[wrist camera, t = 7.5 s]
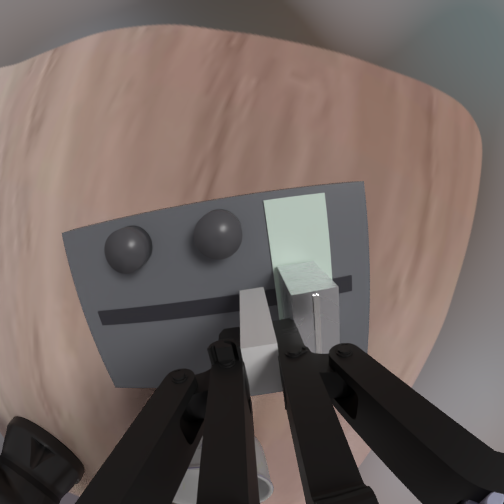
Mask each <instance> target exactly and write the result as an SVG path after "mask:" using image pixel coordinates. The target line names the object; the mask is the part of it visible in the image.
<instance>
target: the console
mask: <svg viewBox="0 0 504 504" xmlns="http://www.w3.org/2000/svg"><path fill="white" fill-rule="evenodd" d="M62 237H63V241H64V246H65V250H66V254H67V258H68V262H69V266H70V270H71V274H72V277H73V281H74V284H75V287H76V291H77V294H78V297H79V300H80V303H81V306H82V309H83V312H84V315H85V318H86V320H87V323H88V326H89V328H90V331H91V334H92V336H93V339H94V341H95V343H96V346H97V348H98V351H99V353H100V355H101V358H102V360H103V362H104V364H105V366H106V369H107V371H108V373H109V375H110V377H111V379H112V381H113V383H114V385H115V387H118V388H158V386H159V385H160V384H161V382H162V381H163V379H164V378H165V377H166V375H167V374H169V373H170V372H172V371H174V370H177V369H184V368H186V369H190V370H192V371H193V372H194V374H195V375H196V374H199V373H202V372H205V371H207V370H209V369H211V361H210V358H209V354H208V351H207V348H208V347H209V345H210V344H212V343H213V342H215V341H218V339H219V334H220V332H221V331H222V330H223V329H226V328H233V327H240V290H246V289H253V288H259V287H264V291H265V295H266V299H267V303H268V308H269V312H270V316H271V320H272V321H275V320H281V319H283V311H282V302H281V294H280V286H279V278H278V270H277V266H283V265H290V264H296V263H302V262H308V261H314V262H315V263H316V264H317V265H318V266H319V267H320V268H321V269H322V270H323V271H324V272H325V273H326V274H327V275H328V276H329V277H330V278H331V279H332V280H333V282H334V283H335V284H336V285H337V286H338V287H339V324H340V344H341V343H351V344H354V345H356V346H358V347H359V348H360V349H362V350H363V351H364V352H366V353H367V349H368V333H369V308H370V264H369V238H368V222H367V209H366V198H365V189H364V181H356V182H342V183H332V184H322V185H313V186H304V187H296V188H288V189H280V190H273V191H265V192H258V193H251V194H245V195H238V196H232V197H225V198H219V199H213V200H208V201H202V202H196V203H191V204H185V205H180V206H175V207H170V208H164V209H159V210H155V211H150V212H145V213H140V214H136V215H131V216H127V217H122V218H118V219H113V220H109V221H105V222H101V223H97V224H93V225H88V226H85V227H81V228H77V229H73V230H70V231H67V232H64V233H62Z"/></svg>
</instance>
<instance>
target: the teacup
mask: <svg viewBox="0 0 504 504" xmlns="http://www.w3.org/2000/svg"><path fill="white" fill-rule="evenodd" d="M254 438H255V451H256V463H257V476H258V487H259V499H260V503H261V502H263V501H265V500H266V499H268V498H269V497H270V496H271V494H272V493H273V484H272V482H271V481H270V476H269V471H268V466H267V462H266V458H265V454H264V451H263V448H262V446H261V444H260V442H259V441H258V440H257V438H256V437H255V436H254ZM202 440H203V436H202V438H201V440H200V443H199V445H198V447H197V449H196V452H195V454H194V456H193V458H192V460H191V463H190V465H189V467H188V469H187V471H186V474H185V476H184V478H183V480H182V482H181V484H180V487H179V489H178V491H177V493H176V495H175V497H174V499H173V501H172V502H173V503H176V504H196V501H197V490H198V479H199V469H200V459H201V449H202Z"/></svg>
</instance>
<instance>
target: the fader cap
mask: <svg viewBox="0 0 504 504" xmlns="http://www.w3.org/2000/svg"><path fill="white" fill-rule="evenodd" d="M277 270H278V278H279V286H280V294H281V302H282V311H283V319H286V318H290V319H292V320H293V321H295V323H296V326H297V328H298V331H299V333H300V335H301V338H302V340H303V343H304V345H305V346H306V347H308V348H309V349H310V351H311V352H313V353H319V354H329V350H330V349H331V348H332V347H333V346H335V345H337V344H340V324H339V287H338V286H337V285H336V284H335V283H334V282H333V280H332V279H331V278H330V277H329V276H328V275H327V274H326V273H325V272H324V271H323V270H322V269H321V268H320V267H319V266H318V265H317V264H316V263H315V262H314V261H308V262H302V263H296V264H290V265H283V266H277Z"/></svg>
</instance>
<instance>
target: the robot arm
mask: <svg viewBox="0 0 504 504" xmlns="http://www.w3.org/2000/svg"><path fill="white" fill-rule="evenodd" d="M207 351H208V354H209V358H210V361H211V369H209V370H207V371H205V372H202V373H199V374H196V375H195V374H194V372H193V371H192V370H190V369H186V368H184V369H177V370H174V371H172V372H170V373H169V374H167V375H166V377H165V378H164V379H163V381H162V382H161V384H160V385H159V386H158V388H157V389H156V391H155V392H154V393H153V395H152V396H151V398H150V399H149V400H148V402H147V403H146V405H145V406H144V408H143V409H142V410H141V412H140V413H139V415H138V416H137V417H136V419H135V420H134V422H133V423H132V424H131V426H130V427H129V429H128V430H127V431H126V433H125V434H124V436H123V437H122V438H121V440H120V441H119V443H118V444H117V445H116V447H115V448H114V450H113V451H112V453H111V454H110V455H109V457H108V458H107V460H106V461H105V462H104V464H103V465H102V467H101V468H100V469H99V471H98V472H97V474H96V475H95V476H94V478H93V479H92V481H91V482H90V483H89V485H88V486H87V488H86V489H85V490H84V492H83V493H82V495H81V496H80V497H79V499H78V500H77V502H76V503H75V504H172V501H173V499H174V497H175V495H176V493H177V491H178V489H179V487H180V484H181V482H182V480H183V478H184V476H185V474H186V471H187V469H188V467H189V465H190V463H191V460H192V458H193V456H194V454H195V452H196V449H197V447H198V445H199V443H200V440H201V438H202V436H203V440H202V449H201V459H200V469H199V479H198V490H197V501H196V504H260V499H259V487H258V476H257V463H256V451H255V438H254V426H253V412H252V402H251V398H250V395H251V396H255V395H262V394H269V393H275V392H281V391H283V393H284V401H285V410H287V414H288V419H289V424H290V429H291V434H292V438H293V443H294V448H295V453H296V457H297V462H298V467H299V472H300V477H301V481H302V486H303V491H304V496H305V501H306V504H379V503H378V501H377V498H376V496H375V494H374V492H373V490H372V489H371V488H370V487H369V486H366V485H365V484H364V483H363V480H362V478H361V475H360V473H359V470H358V468H357V465H356V462H355V460H354V457H353V455H352V452H351V450H350V447H349V445H348V442H347V440H346V437H345V435H344V432H343V430H342V427H341V425H340V422H339V420H338V417H337V415H336V412H335V410H334V407H335V408H336V409H337V410H338V412H339V413H340V414H341V415H342V416H343V417H344V419H345V420H346V421H347V422H348V423H349V424H350V425H351V427H352V428H353V429H354V430H355V431H356V432H357V433H358V435H359V436H360V437H361V438H362V439H363V440H364V441H365V443H366V444H367V445H368V446H369V447H370V448H371V449H372V450H373V451H374V453H375V454H376V455H377V456H378V457H379V458H380V459H381V460H382V461H383V462H384V463H385V465H386V466H387V467H388V468H389V469H390V470H391V471H392V472H393V473H394V474H395V476H396V477H397V478H398V479H399V480H400V481H401V482H402V483H403V484H404V485H405V486H406V487H407V488H408V489H409V490H410V491H411V492H412V493H413V494H414V496H416V498H417V499H418V500H419V501H420V502H421V503H422V504H504V453H501V452H497V451H494V450H493V449H492V448H490V447H489V446H487V445H486V444H485V443H483V442H482V441H481V440H479V439H478V438H477V437H475V436H474V435H473V434H471V433H470V432H469V431H467V430H466V429H465V428H463V427H462V426H461V425H459V424H458V423H456V422H455V421H454V420H453V419H451V418H450V417H449V416H447V415H446V414H445V413H444V412H442V411H441V410H439V409H438V408H437V407H436V406H434V405H433V404H432V403H430V402H429V401H428V400H427V399H425V398H424V397H423V396H421V395H420V394H419V393H417V392H416V391H415V390H413V389H412V388H411V387H410V386H408V385H407V384H406V383H404V382H403V381H402V380H400V379H399V378H398V377H397V376H395V375H394V374H393V373H391V372H390V371H389V370H387V369H386V368H385V367H384V366H382V365H381V364H380V363H378V362H377V361H376V360H375V359H373V358H372V357H371V356H369V355H368V354H367V353H366V352H364V351H363V350H362V349H360V348H359V347H358V346H356V345H354V344H351V343H341V344H337V345H335V346H333V347H332V348H331V349H330V350H329V354H319V353H313V352H311V351H310V349H309V348H308V347H306V346H305V345H304V343H303V340H302V338H301V335H300V333H299V331H298V328H297V326H296V323H295V321H293V320H292V319H290V318H286V319H281V320H275V321H272V320H271V316H270V312H269V308H268V303H267V299H266V295H265V291H264V287H259V288H253V289H246V290H240V327H233V328H226V329H223V330H222V331H221V332H220V334H219V339H218V341H215V342H213V343H212V344H210V345H209V347H208V348H207ZM333 406H334V407H333ZM83 474H84V467H83V465H82V464H81V462H80V461H79V460H78V459H77V457H76V456H75V455H74V454H73V453H72V452H71V451H70V450H69V449H68V448H66V447H65V446H64V445H63V444H62V443H61V442H59V441H58V440H57V439H56V438H54V437H53V436H52V435H50V434H49V433H48V432H46V431H45V430H43V429H42V428H40V427H39V426H37V425H36V424H34V423H32V422H30V421H29V420H26V419H24V418H21V417H14V418H13V419H12V420H11V421H10V423H9V424H8V426H7V431H6V435H5V439H4V443H3V449H2V453H1V455H0V504H59V503H60V500H61V498H62V497H63V496H64V495H65V494H66V493H67V492H68V491H69V490H70V489H71V488H72V487H73V486H74V484H77V483H79V482H80V480H81V478H82V476H83Z"/></svg>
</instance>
